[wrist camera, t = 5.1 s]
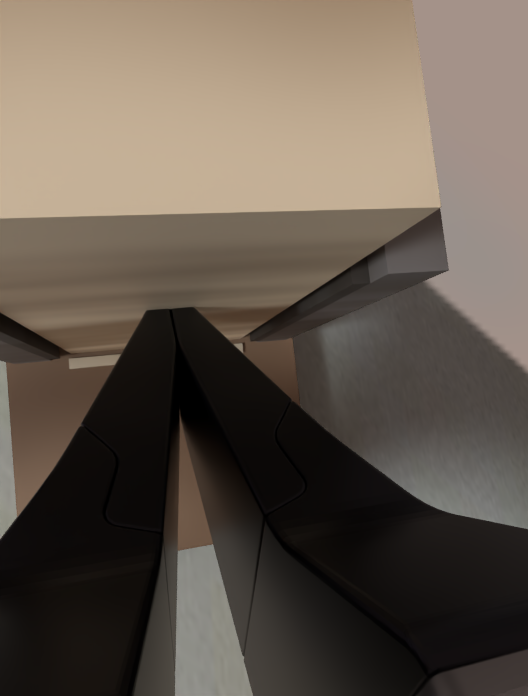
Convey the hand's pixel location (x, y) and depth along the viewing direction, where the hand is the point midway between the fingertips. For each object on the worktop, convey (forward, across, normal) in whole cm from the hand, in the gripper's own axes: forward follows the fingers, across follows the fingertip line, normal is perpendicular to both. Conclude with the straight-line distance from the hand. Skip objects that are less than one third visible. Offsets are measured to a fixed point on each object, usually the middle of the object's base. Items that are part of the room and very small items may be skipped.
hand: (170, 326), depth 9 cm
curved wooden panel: (+5, 0, +3) cm, 6 cm away
